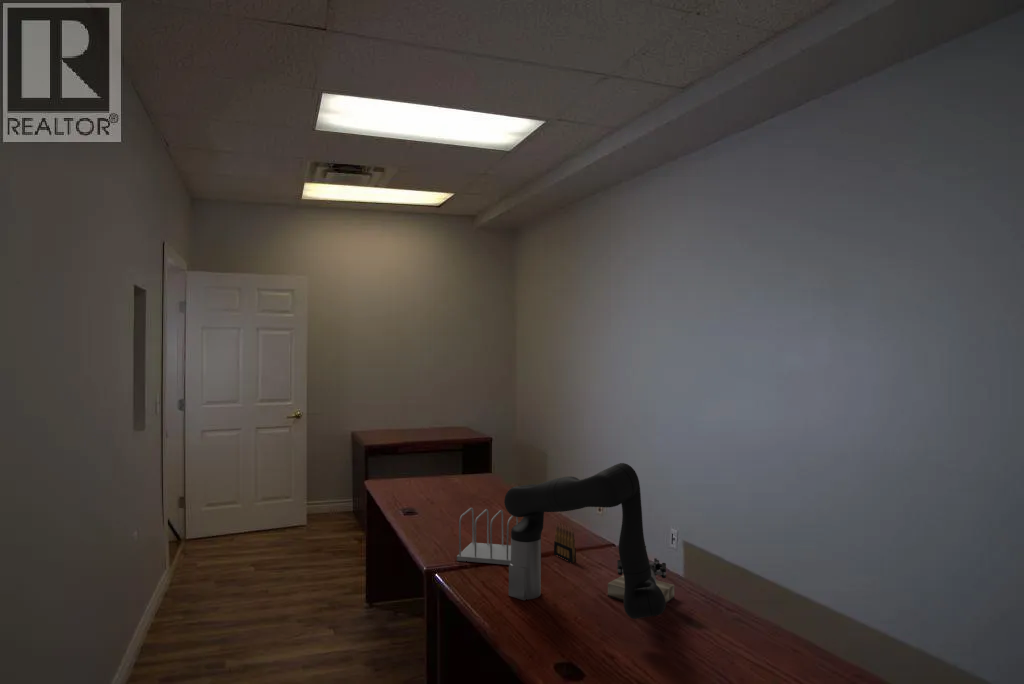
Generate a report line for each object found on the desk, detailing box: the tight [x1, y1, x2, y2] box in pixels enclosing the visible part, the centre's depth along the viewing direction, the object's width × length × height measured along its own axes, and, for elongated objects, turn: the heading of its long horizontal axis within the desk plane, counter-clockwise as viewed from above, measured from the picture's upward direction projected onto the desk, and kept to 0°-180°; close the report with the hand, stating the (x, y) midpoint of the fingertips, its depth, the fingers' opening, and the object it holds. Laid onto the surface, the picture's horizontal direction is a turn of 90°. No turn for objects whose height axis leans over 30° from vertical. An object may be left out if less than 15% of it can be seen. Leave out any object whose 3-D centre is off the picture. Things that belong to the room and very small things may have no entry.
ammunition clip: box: [553, 521, 577, 564], centre depth 232 cm, size 11×2×12 cm, turn 33°
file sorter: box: [456, 507, 519, 566], centre depth 234 cm, size 25×17×16 cm
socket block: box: [607, 574, 675, 604], centre depth 197 cm, size 12×16×4 cm
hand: (641, 560), depth 199 cm, fingers open, 8 cm apart
